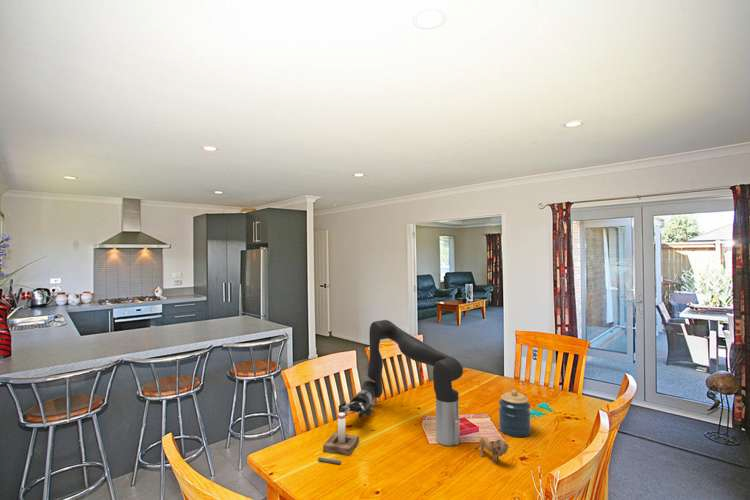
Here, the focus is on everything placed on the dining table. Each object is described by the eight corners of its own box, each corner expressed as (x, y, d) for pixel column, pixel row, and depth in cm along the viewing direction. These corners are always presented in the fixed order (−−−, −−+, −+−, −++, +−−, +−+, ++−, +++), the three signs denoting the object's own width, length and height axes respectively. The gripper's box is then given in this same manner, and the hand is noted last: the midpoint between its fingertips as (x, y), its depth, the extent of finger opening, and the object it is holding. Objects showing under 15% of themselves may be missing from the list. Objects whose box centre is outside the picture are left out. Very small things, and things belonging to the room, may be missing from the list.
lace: (341, 463, 140) (341, 460, 140) (340, 465, 139) (340, 461, 139) (318, 459, 143) (318, 456, 143) (317, 461, 142) (317, 458, 142)
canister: (531, 427, 169) (531, 387, 169) (530, 440, 157) (529, 397, 158) (500, 422, 174) (500, 383, 175) (497, 434, 163) (496, 392, 163)
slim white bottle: (346, 445, 154) (346, 412, 154) (343, 449, 151) (343, 415, 151) (339, 444, 155) (339, 411, 155) (336, 447, 152) (336, 415, 152)
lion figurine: (511, 464, 139) (511, 439, 139) (502, 469, 136) (502, 444, 136) (478, 448, 151) (478, 425, 151) (470, 452, 148) (469, 429, 148)
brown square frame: (359, 442, 156) (359, 436, 156) (349, 455, 146) (349, 449, 146) (334, 438, 160) (334, 432, 160) (323, 451, 149) (323, 445, 149)
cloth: (538, 423, 174) (538, 418, 174) (513, 413, 186) (513, 408, 186) (571, 411, 188) (571, 406, 188) (545, 402, 200) (545, 397, 200)
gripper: (347, 391, 180) (334, 404, 164) (376, 394, 176) (366, 407, 160) (347, 407, 180) (334, 421, 164) (376, 410, 176) (366, 425, 160)
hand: (350, 414), depth 162 cm, fingers open, 8 cm apart
